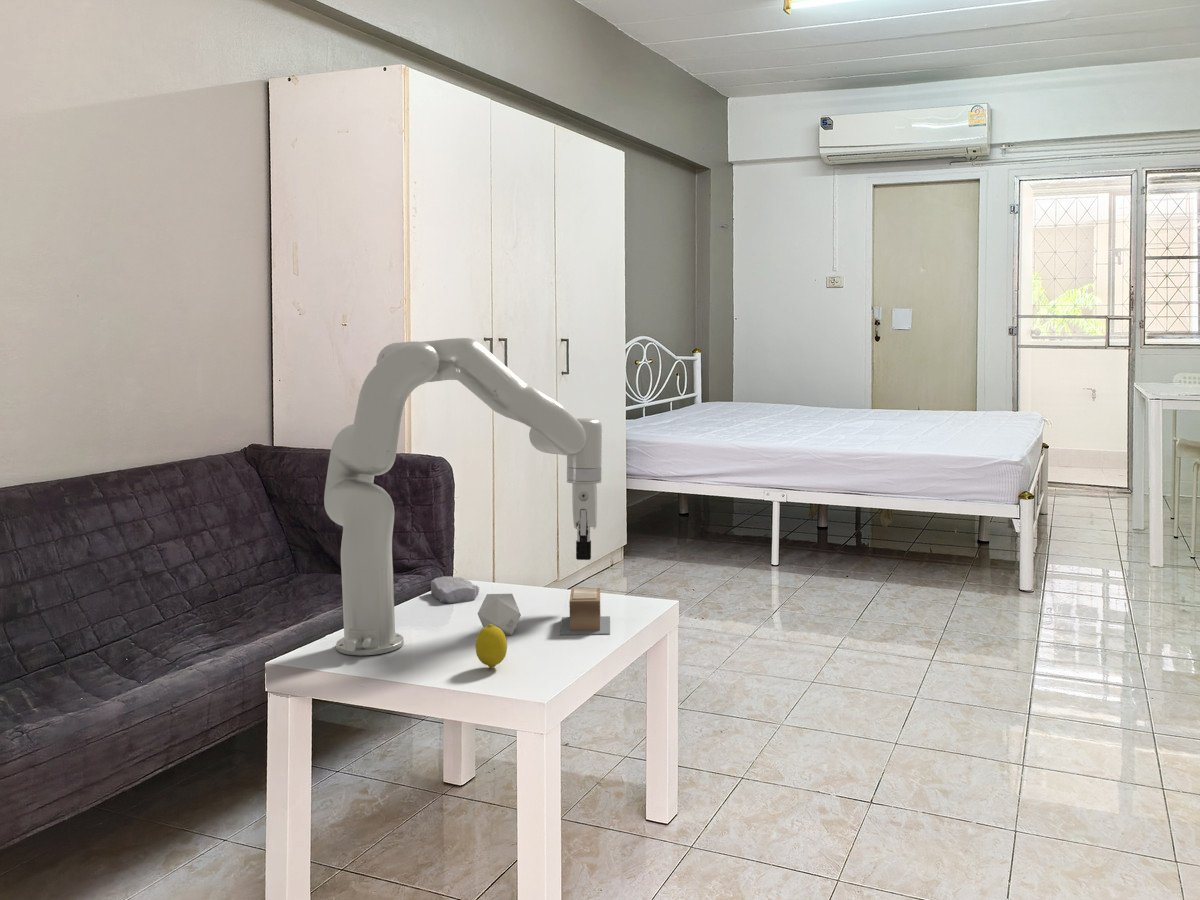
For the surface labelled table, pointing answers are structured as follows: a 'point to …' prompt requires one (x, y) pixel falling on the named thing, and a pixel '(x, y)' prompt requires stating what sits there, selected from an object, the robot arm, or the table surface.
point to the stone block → (453, 589)
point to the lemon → (491, 645)
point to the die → (500, 612)
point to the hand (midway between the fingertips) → (583, 558)
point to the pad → (603, 630)
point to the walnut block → (585, 609)
